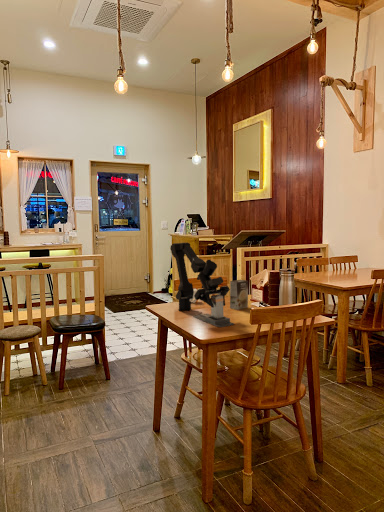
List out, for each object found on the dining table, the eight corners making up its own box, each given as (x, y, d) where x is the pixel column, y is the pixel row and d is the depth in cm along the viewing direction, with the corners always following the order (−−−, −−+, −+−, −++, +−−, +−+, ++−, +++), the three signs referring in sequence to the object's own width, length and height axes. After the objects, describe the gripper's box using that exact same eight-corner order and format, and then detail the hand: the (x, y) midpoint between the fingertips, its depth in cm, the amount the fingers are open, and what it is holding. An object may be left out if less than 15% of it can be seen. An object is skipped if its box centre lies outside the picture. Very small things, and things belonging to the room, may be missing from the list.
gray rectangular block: (211, 320, 189) (210, 295, 188) (218, 319, 192) (217, 294, 190) (216, 323, 185) (215, 297, 184) (223, 321, 188) (223, 296, 186)
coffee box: (237, 310, 214) (237, 282, 213) (229, 308, 219) (229, 281, 218) (248, 307, 220) (248, 280, 219) (240, 305, 225) (240, 279, 224)
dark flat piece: (193, 316, 200) (193, 312, 200) (207, 314, 204) (207, 310, 204) (219, 327, 179) (219, 322, 179) (234, 324, 184) (234, 319, 184)
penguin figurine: (197, 289, 232) (178, 291, 234) (198, 303, 233) (179, 304, 234) (198, 287, 238) (179, 289, 240) (199, 300, 239) (181, 302, 241)
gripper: (197, 273, 185) (209, 299, 176) (227, 270, 194) (240, 294, 186) (189, 286, 192) (200, 312, 184) (218, 283, 202) (231, 307, 193)
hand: (219, 306), depth 186 cm, fingers open, 7 cm apart
